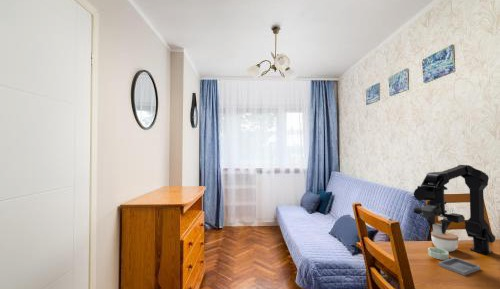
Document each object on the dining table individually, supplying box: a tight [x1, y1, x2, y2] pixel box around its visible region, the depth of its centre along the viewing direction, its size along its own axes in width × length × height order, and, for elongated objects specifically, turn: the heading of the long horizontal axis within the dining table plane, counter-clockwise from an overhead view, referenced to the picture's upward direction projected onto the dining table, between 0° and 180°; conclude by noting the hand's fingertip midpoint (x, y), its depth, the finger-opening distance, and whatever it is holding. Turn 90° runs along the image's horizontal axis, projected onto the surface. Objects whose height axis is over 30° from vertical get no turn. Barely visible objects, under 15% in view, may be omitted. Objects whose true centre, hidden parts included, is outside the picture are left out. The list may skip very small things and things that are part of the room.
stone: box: [433, 222, 444, 236], centre depth 109 cm, size 4×4×4 cm
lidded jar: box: [430, 230, 459, 252], centre depth 117 cm, size 11×11×9 cm
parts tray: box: [438, 256, 481, 277], centre depth 99 cm, size 12×9×2 cm
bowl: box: [427, 246, 450, 261], centre depth 109 cm, size 8×8×3 cm
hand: (438, 232), depth 109 cm, fingers closed on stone, 4 cm apart
